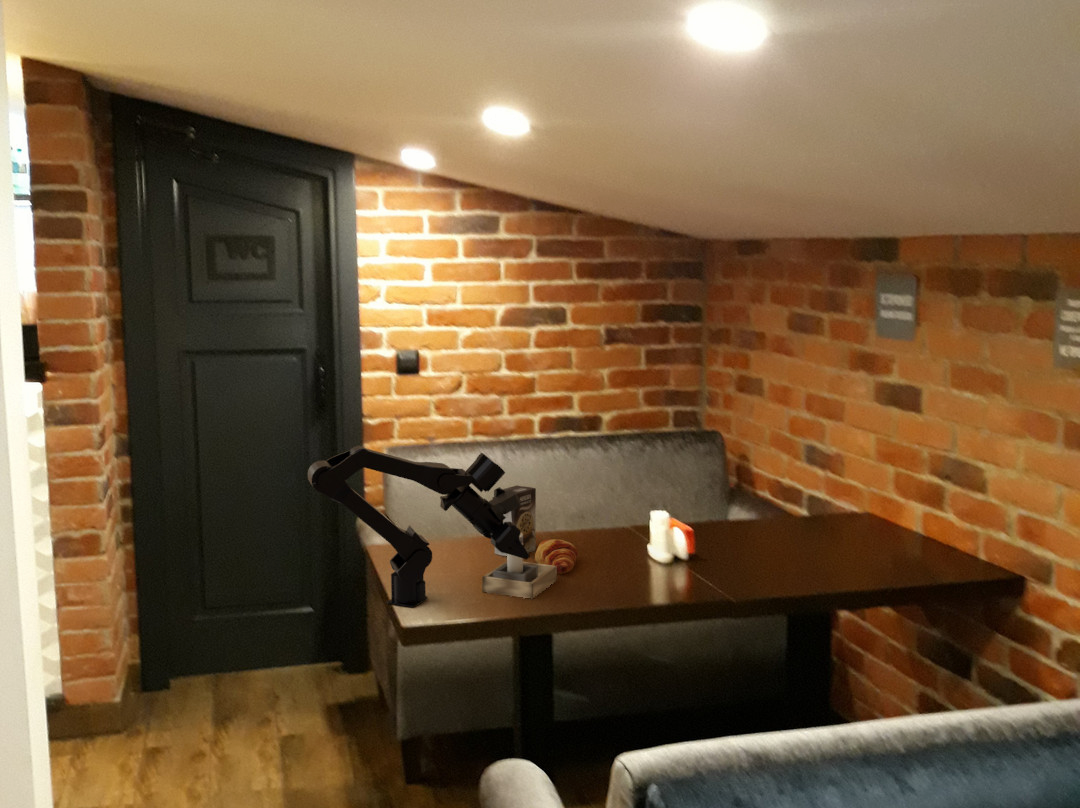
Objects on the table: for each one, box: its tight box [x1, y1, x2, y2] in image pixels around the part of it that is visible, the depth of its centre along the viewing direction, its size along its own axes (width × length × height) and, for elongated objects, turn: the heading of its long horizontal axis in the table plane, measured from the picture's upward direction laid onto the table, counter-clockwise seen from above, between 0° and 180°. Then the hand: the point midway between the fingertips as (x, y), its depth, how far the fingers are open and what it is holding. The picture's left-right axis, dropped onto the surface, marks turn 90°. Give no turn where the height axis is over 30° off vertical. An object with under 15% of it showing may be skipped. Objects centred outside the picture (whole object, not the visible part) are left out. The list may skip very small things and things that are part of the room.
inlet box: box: [481, 560, 558, 600], centre depth 240 cm, size 12×14×5 cm
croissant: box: [534, 539, 579, 575], centre depth 256 cm, size 21×10×8 cm, turn 11°
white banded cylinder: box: [506, 533, 524, 574], centre depth 237 cm, size 4×4×12 cm
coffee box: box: [494, 484, 537, 557], centre depth 265 cm, size 9×6×16 cm
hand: (521, 551), depth 237 cm, fingers open, 9 cm apart
